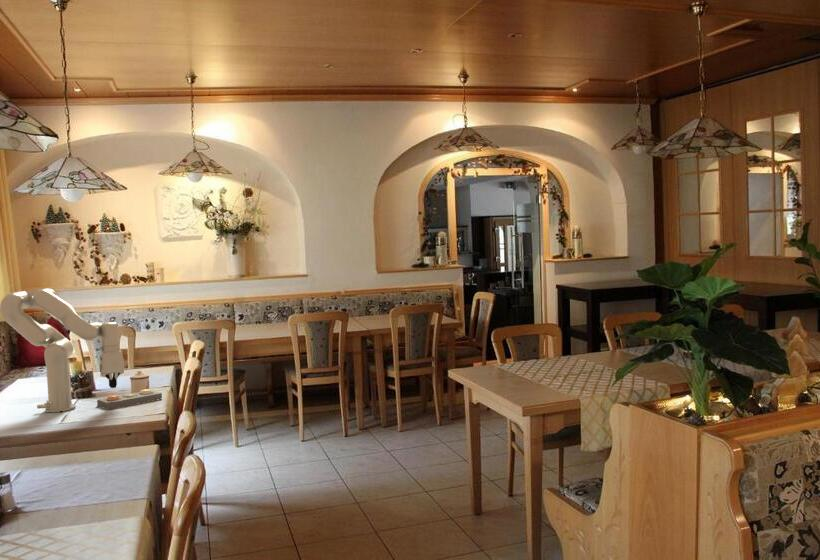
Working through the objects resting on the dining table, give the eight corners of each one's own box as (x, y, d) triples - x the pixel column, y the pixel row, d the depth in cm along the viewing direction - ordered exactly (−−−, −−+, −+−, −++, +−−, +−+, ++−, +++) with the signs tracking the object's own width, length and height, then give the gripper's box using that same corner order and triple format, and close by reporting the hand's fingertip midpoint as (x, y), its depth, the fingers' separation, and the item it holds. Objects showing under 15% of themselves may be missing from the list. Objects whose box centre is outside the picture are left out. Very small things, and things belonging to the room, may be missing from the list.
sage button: (127, 403, 328) (127, 396, 328) (122, 401, 332) (122, 395, 332) (137, 401, 332) (137, 394, 332) (132, 399, 335) (132, 393, 335)
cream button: (143, 397, 334) (143, 391, 334) (138, 396, 338) (138, 390, 337) (153, 396, 338) (153, 390, 338) (148, 394, 341) (148, 388, 341)
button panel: (108, 409, 318) (108, 403, 318) (97, 405, 327) (97, 399, 326) (161, 399, 337) (161, 393, 337) (150, 395, 345) (150, 389, 345)
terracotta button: (110, 404, 323) (110, 397, 322) (105, 402, 326) (105, 396, 326) (121, 402, 326) (120, 395, 326) (116, 400, 330) (116, 394, 329)
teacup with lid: (151, 394, 350) (150, 371, 349) (132, 396, 346) (130, 373, 345) (147, 390, 360) (146, 367, 360) (129, 392, 356) (128, 369, 356)
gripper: (98, 351, 317) (100, 391, 318) (130, 347, 328) (132, 385, 329) (91, 350, 322) (93, 389, 323) (123, 346, 333) (125, 383, 334)
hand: (113, 387), depth 326 cm, fingers closed
